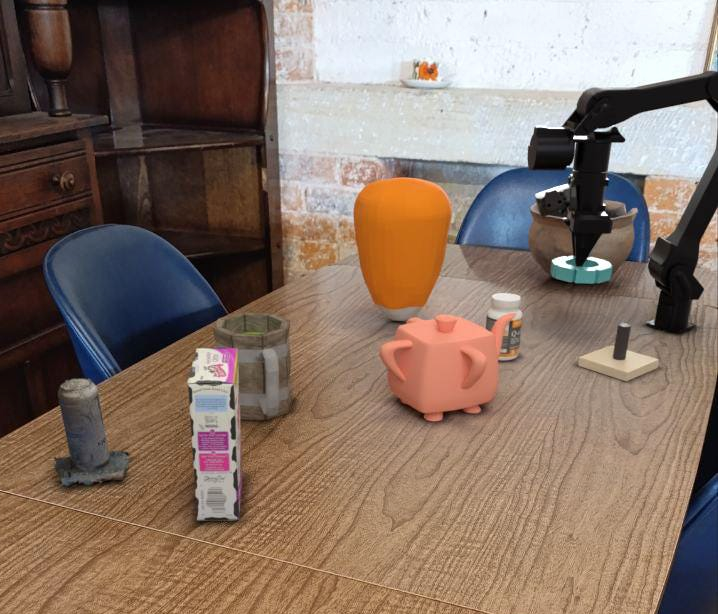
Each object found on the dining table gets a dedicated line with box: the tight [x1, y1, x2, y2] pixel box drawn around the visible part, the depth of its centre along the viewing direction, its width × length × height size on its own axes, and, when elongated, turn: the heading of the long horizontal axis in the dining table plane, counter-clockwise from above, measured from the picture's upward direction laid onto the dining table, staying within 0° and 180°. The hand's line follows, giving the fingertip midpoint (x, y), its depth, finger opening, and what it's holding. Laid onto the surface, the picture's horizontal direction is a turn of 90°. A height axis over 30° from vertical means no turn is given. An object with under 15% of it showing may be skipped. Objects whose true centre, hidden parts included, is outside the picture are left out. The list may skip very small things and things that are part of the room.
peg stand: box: [577, 322, 660, 382], centre depth 139 cm, size 9×9×7 cm
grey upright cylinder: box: [53, 377, 131, 488], centre depth 103 cm, size 9×8×12 cm
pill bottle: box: [485, 292, 524, 362], centre depth 142 cm, size 6×6×10 cm
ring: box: [550, 256, 613, 285], centre depth 150 cm, size 10×10×2 cm
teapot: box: [378, 313, 517, 422], centre depth 123 cm, size 17×16×13 cm
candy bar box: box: [187, 347, 243, 522], centre depth 97 cm, size 11×5×16 cm, turn 5°
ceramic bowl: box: [527, 199, 639, 277], centre depth 185 cm, size 22×22×15 cm
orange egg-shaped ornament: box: [352, 177, 453, 322], centre depth 154 cm, size 17×17×25 cm
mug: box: [212, 312, 293, 421], centre depth 120 cm, size 16×11×12 cm
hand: (577, 264), depth 153 cm, fingers closed on ring, 2 cm apart
